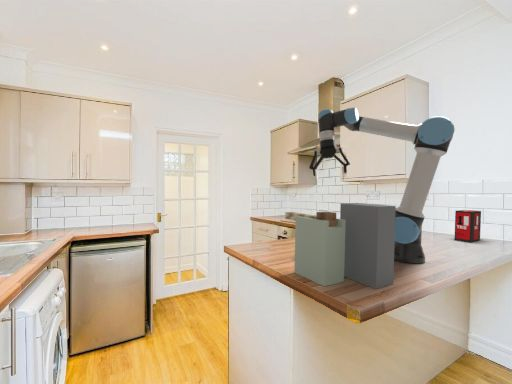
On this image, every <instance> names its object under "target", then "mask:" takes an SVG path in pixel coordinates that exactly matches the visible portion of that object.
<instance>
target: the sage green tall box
mask: <svg viewBox="0 0 512 384" xmlns="http://www.w3.org/2000/svg"><path fill="white" fill-rule="evenodd" d="M315 216H316V214H315ZM345 222H346V220H343V219H340V218H336V226H335V227H329V221H324V220H318V219H312V218H307V217H301V216H296V221H295V226H294V227H295V229H294V231H295V233H294V271H293V272H294V273H295V274H297V275H298V276H301V277H303V278H305V279H308V280H310V281H312V282H313V283H316V284H318V285H320V286H322V287H327V286H331V285H336V284H339V283H343V282H344V281H345V277H344V261H345Z"/></svg>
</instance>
